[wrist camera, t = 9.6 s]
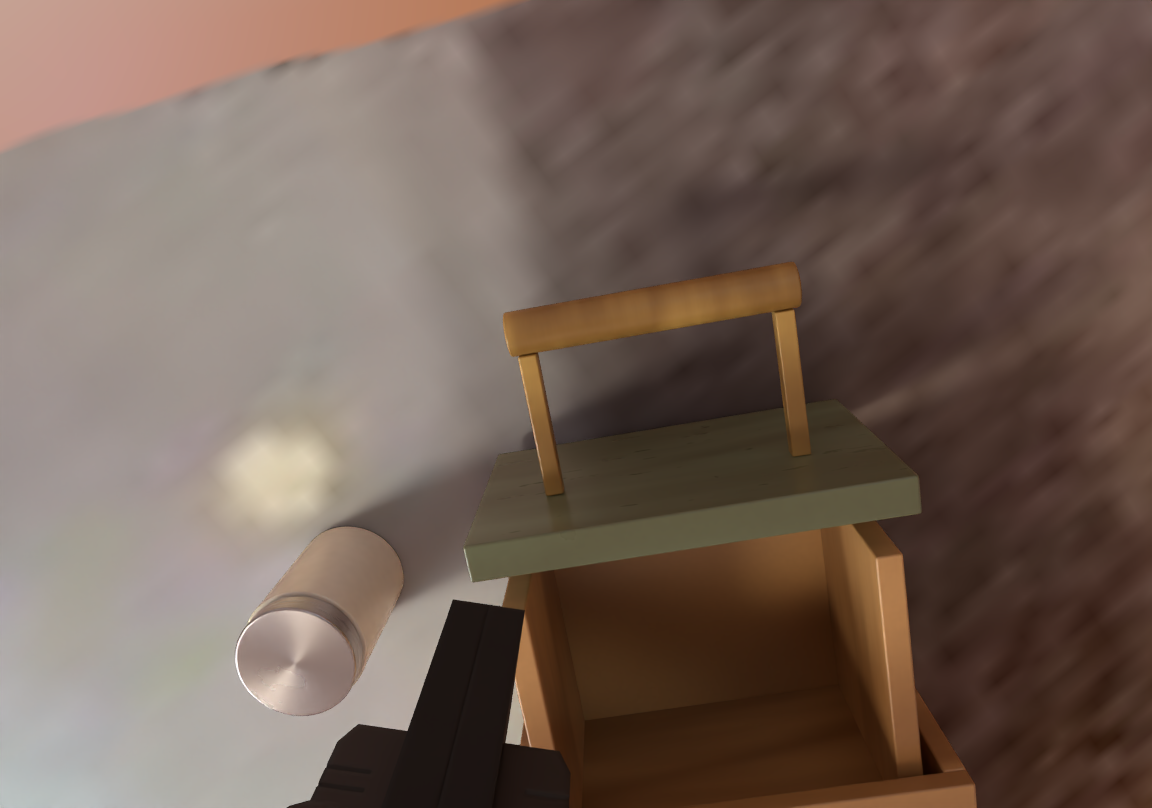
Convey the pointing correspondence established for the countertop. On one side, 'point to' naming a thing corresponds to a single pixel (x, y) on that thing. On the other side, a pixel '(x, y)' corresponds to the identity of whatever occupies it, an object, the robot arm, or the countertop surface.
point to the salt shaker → (320, 622)
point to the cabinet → (912, 804)
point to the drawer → (704, 576)
